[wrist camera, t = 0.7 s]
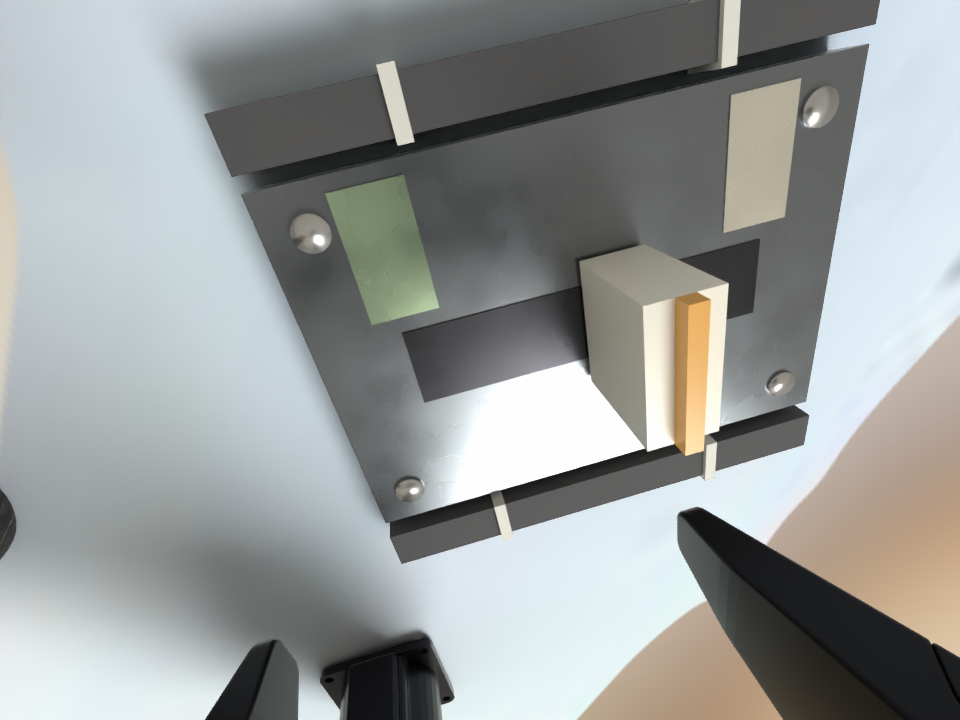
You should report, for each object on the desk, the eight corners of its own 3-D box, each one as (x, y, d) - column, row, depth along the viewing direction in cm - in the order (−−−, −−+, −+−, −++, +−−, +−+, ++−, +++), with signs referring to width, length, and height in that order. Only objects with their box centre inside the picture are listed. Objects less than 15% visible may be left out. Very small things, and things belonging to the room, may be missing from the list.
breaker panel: (781, 385, 22) (808, 403, 21) (386, 498, 21) (385, 525, 20) (828, 50, 16) (873, 43, 14) (254, 188, 14) (239, 195, 13)
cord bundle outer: (830, 40, 16) (880, 30, 14) (250, 178, 14) (233, 185, 13) (840, -34, 15) (895, -54, 13) (220, 107, 13) (197, 105, 12)
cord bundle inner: (775, 426, 24) (806, 450, 22) (401, 535, 22) (403, 570, 21) (780, 391, 23) (813, 414, 21) (388, 504, 21) (388, 538, 20)
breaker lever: (647, 365, 18) (731, 442, 14) (591, 381, 18) (657, 464, 14) (644, 244, 16) (744, 290, 11) (579, 261, 16) (654, 314, 11)
